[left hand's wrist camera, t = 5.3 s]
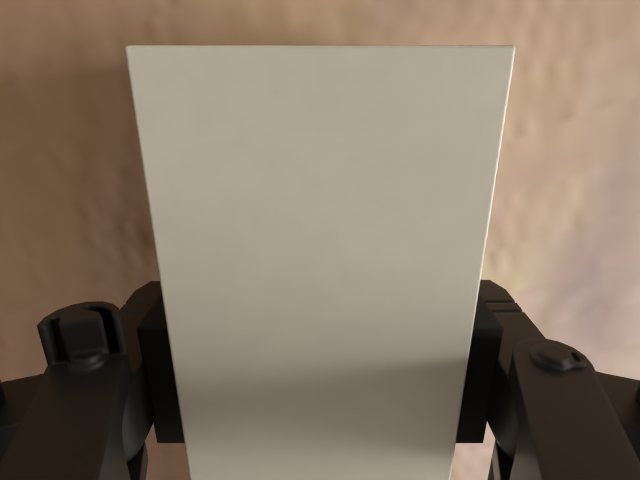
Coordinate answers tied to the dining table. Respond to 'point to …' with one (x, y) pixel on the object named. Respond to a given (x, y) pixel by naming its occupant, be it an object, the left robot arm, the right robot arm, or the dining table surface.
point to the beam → (320, 247)
